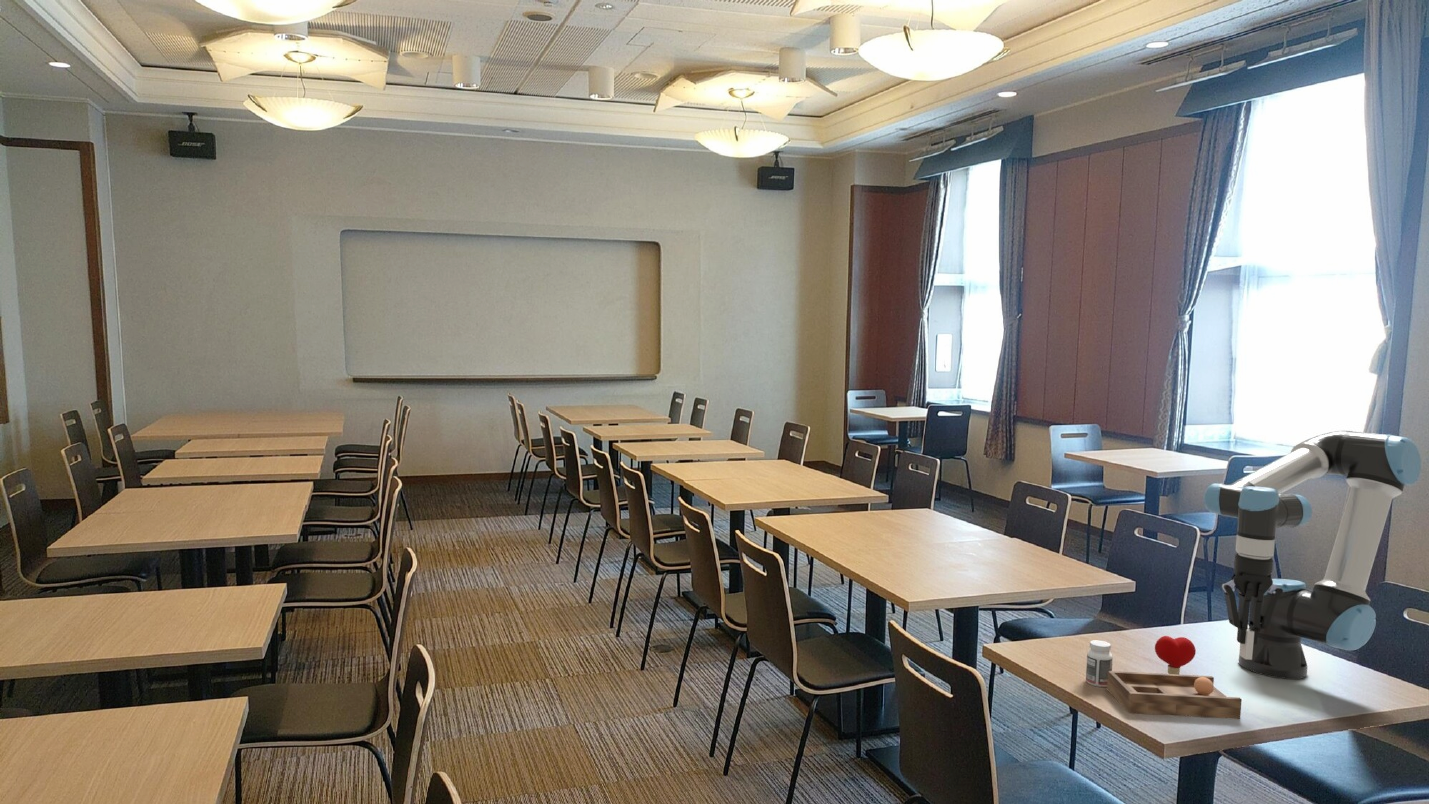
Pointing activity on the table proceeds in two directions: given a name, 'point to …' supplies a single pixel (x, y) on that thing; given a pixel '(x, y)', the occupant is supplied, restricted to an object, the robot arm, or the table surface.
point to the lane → (1169, 695)
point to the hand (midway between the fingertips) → (1245, 657)
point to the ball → (1203, 686)
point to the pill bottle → (1098, 663)
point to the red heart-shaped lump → (1175, 652)
